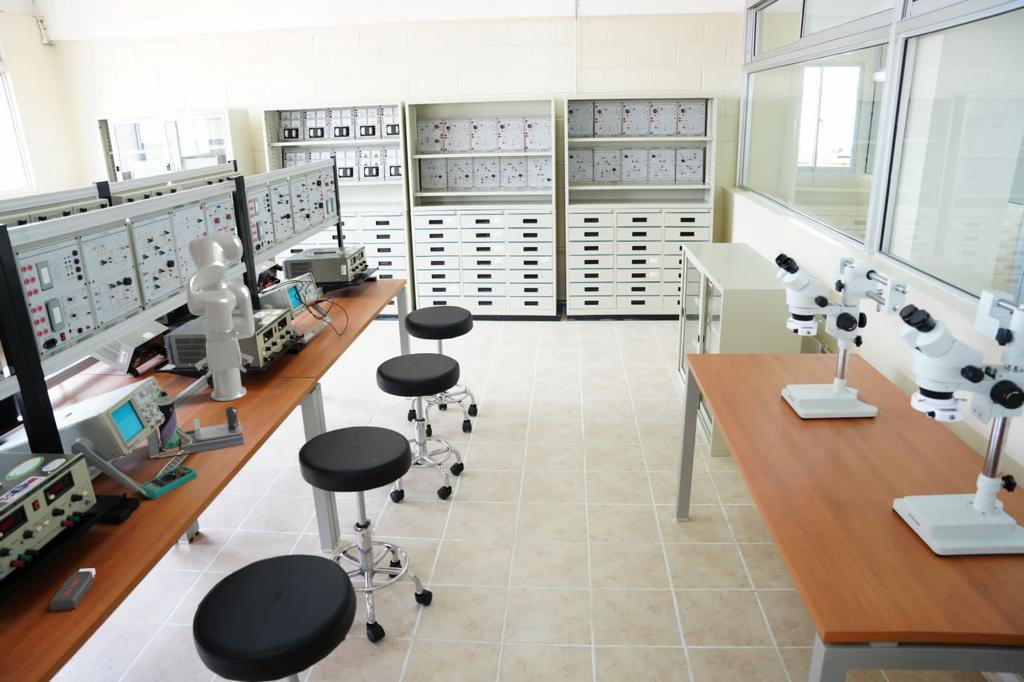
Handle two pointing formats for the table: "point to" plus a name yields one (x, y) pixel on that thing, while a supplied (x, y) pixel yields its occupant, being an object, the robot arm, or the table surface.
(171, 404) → the spray can
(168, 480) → the digital multimeter
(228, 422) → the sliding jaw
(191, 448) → the vise frame
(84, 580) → the usb drive
